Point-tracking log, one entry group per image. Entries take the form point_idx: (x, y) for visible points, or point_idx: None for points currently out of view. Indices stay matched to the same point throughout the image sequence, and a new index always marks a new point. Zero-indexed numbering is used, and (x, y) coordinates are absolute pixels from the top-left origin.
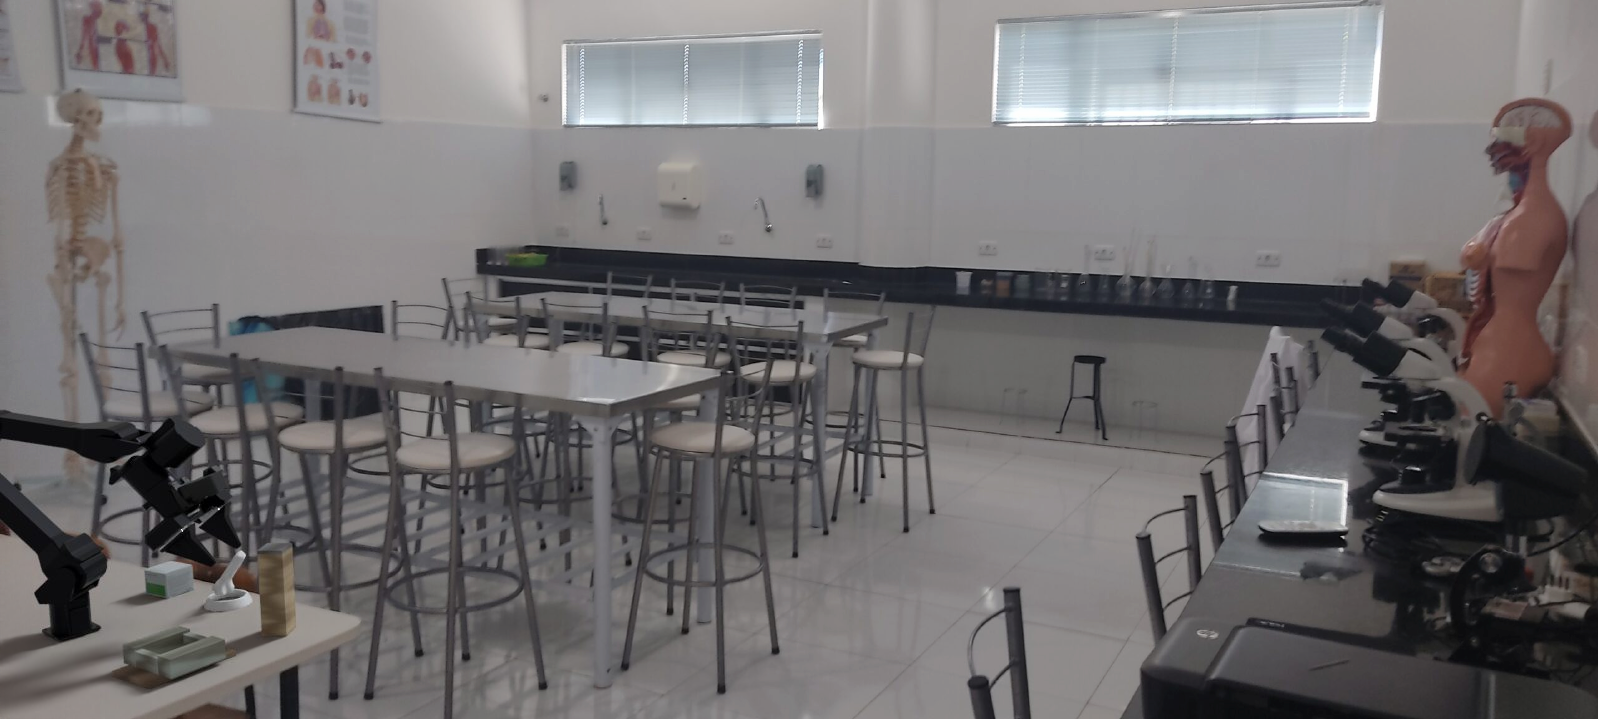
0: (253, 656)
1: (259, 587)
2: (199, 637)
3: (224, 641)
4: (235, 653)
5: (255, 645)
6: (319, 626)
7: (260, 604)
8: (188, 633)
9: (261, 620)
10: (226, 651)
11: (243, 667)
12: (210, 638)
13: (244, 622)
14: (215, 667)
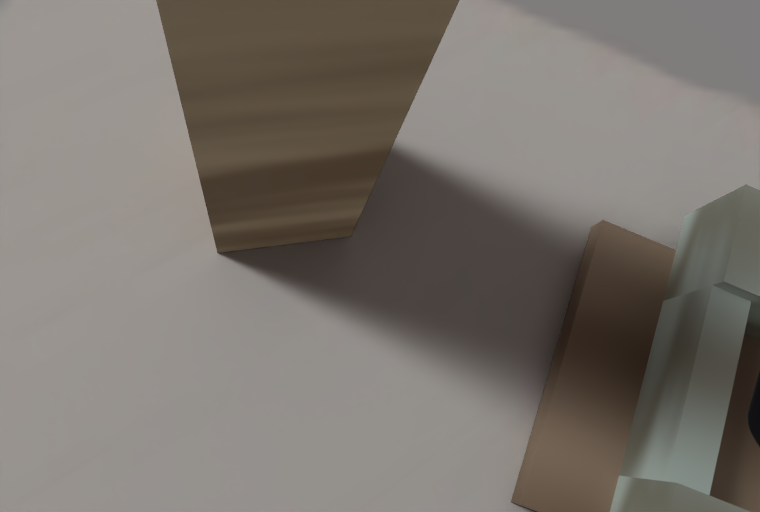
0: (581, 144)
1: (401, 121)
2: (716, 369)
3: (740, 190)
4: (596, 225)
5: (466, 203)
6: None
7: (378, 172)
8: (686, 475)
9: (362, 207)
10: (623, 255)
11: (689, 125)
12: (756, 267)
13: (167, 453)
14: None
